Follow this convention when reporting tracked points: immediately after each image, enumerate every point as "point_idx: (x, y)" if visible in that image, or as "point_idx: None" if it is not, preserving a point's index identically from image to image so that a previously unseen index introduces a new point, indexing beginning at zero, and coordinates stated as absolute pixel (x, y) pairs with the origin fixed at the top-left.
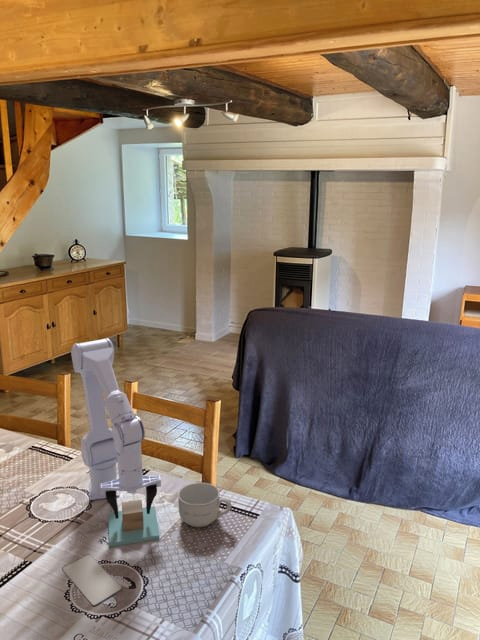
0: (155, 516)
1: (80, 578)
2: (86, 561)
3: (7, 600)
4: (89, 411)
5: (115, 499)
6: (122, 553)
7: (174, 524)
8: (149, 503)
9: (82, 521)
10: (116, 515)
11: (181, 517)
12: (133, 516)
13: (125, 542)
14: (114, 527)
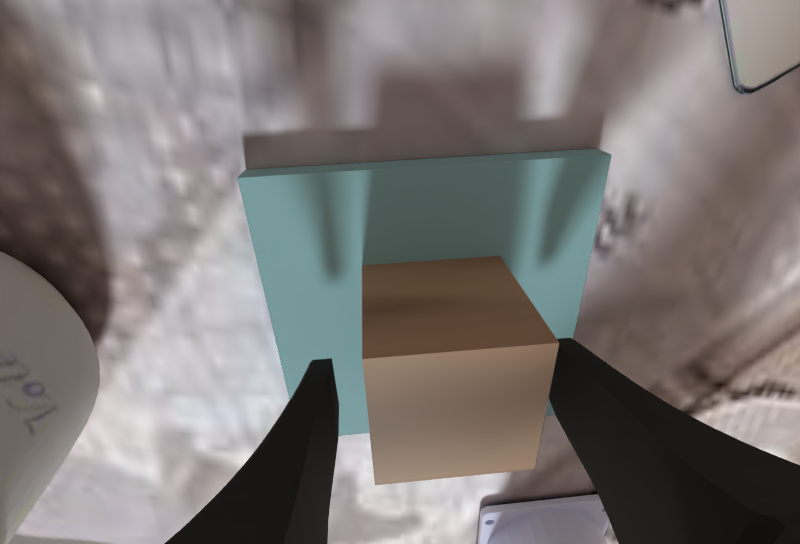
0: (287, 363)
1: None
2: (785, 11)
3: None
4: None
5: (766, 510)
6: (521, 55)
7: (159, 295)
8: (289, 436)
9: (679, 378)
10: (583, 353)
11: (49, 310)
12: (447, 326)
13: (492, 158)
14: (547, 303)
